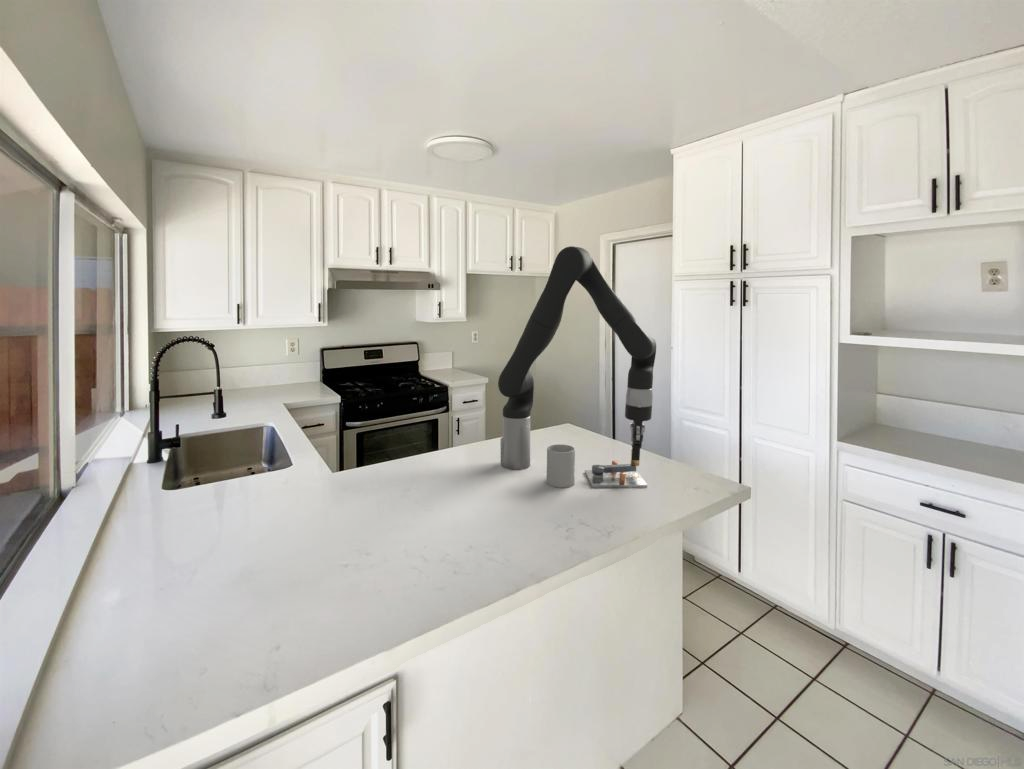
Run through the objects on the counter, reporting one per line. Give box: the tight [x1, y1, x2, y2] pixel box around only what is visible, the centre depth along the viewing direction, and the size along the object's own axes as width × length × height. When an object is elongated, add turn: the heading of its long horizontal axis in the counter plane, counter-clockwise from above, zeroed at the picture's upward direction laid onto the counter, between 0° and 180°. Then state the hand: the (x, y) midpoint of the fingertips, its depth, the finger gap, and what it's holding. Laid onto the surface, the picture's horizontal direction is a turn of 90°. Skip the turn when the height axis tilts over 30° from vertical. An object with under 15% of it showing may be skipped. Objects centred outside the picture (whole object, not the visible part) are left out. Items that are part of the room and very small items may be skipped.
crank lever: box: [591, 448, 641, 475], centre depth 151 cm, size 15×4×7 cm, turn 99°
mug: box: [546, 443, 576, 489], centre depth 149 cm, size 12×8×11 cm
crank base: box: [584, 460, 648, 489], centre depth 151 cm, size 16×13×4 cm
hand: (635, 459), depth 145 cm, fingers closed
